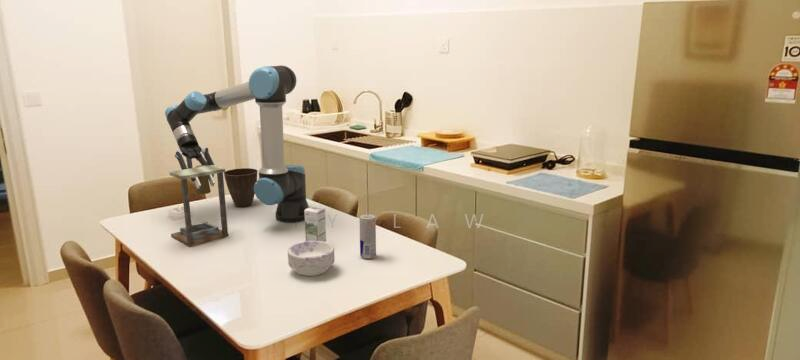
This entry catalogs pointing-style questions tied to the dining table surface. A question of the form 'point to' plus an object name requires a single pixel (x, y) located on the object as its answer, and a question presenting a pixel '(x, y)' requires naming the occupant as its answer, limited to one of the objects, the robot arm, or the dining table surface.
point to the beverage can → (367, 236)
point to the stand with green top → (190, 233)
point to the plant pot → (241, 185)
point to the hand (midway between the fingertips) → (206, 185)
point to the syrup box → (315, 224)
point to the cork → (203, 184)
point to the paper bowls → (311, 257)
